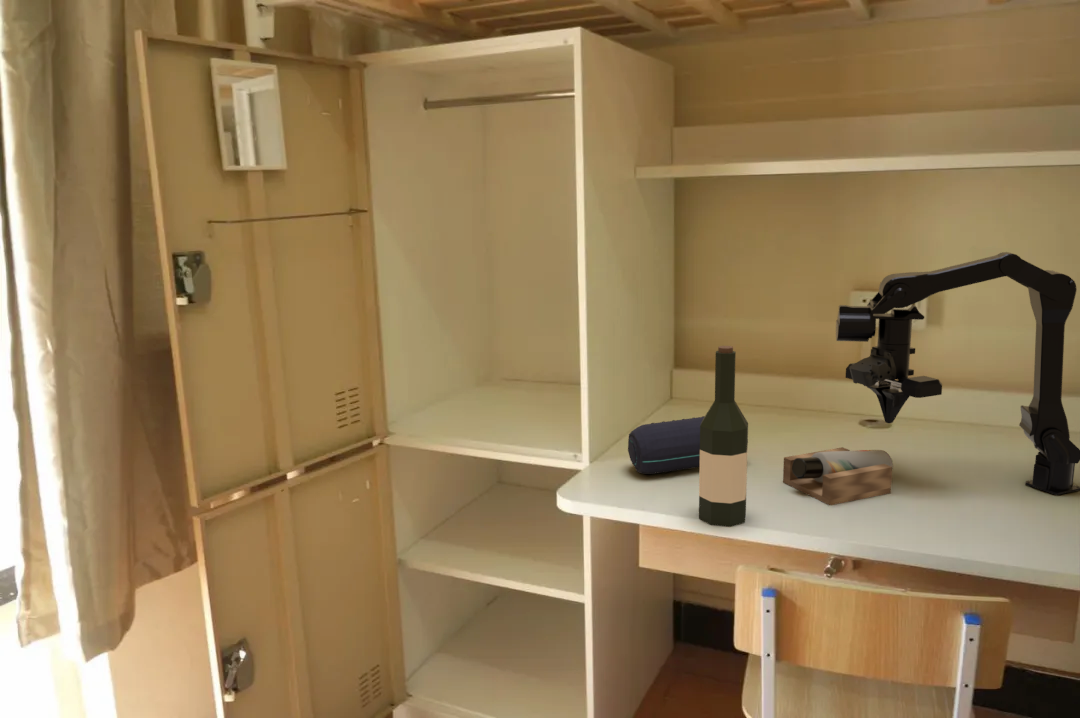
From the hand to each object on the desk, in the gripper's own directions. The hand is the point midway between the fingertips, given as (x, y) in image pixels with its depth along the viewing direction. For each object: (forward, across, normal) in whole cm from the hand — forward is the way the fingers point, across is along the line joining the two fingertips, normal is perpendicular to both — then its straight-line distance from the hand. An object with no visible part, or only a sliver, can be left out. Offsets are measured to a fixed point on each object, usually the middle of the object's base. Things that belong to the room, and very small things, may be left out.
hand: (888, 422), depth 157 cm
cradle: (+11, 0, -12) cm, 16 cm away
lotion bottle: (+8, 0, -1) cm, 8 cm away
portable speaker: (+11, -22, -31) cm, 40 cm away
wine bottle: (+11, +3, -39) cm, 41 cm away
